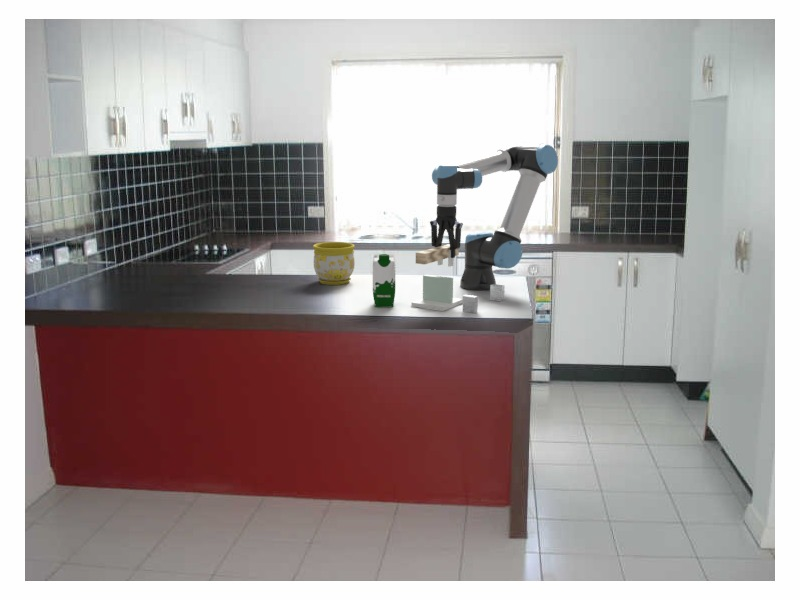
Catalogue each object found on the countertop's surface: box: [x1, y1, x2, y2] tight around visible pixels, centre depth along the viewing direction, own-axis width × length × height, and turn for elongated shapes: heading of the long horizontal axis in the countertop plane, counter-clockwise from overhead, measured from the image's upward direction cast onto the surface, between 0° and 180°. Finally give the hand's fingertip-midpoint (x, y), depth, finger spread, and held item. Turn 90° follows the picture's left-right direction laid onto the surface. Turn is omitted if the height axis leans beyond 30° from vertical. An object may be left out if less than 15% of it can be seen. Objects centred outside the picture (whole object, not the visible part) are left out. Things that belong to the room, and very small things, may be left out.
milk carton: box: [372, 253, 396, 308], centre depth 318 cm, size 9×9×20 cm
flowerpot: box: [312, 241, 356, 286], centre depth 360 cm, size 18×18×16 cm
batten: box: [415, 243, 460, 265], centre depth 316 cm, size 26×4×4 cm, turn 147°
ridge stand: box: [411, 274, 463, 312], centre depth 320 cm, size 16×14×11 cm
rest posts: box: [462, 283, 505, 314], centre depth 318 cm, size 25×5×6 cm, turn 147°
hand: (445, 265), depth 322 cm, fingers closed on batten, 4 cm apart
